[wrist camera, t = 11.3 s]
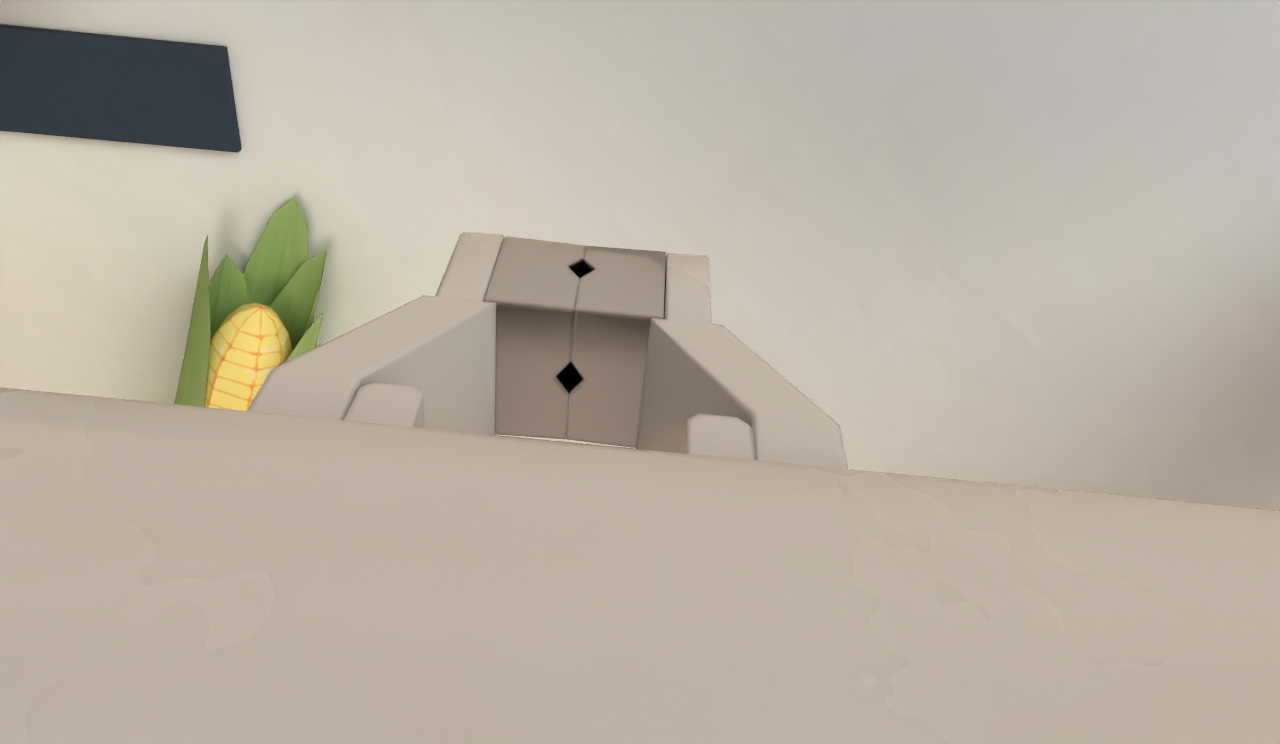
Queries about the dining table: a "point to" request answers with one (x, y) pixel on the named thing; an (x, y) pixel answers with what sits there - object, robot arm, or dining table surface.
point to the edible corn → (252, 316)
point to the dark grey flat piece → (116, 89)
